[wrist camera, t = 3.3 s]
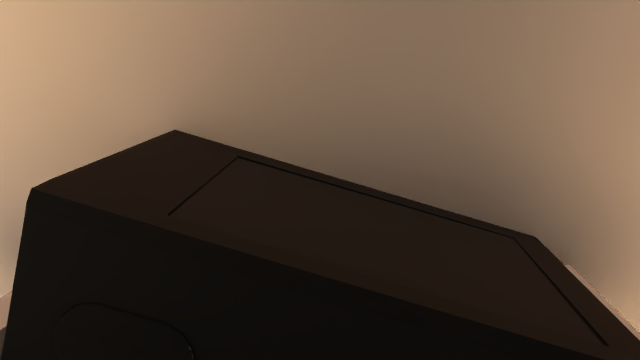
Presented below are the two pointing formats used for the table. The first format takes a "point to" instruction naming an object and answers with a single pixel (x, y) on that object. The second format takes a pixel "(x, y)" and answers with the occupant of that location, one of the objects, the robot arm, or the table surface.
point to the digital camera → (280, 270)
